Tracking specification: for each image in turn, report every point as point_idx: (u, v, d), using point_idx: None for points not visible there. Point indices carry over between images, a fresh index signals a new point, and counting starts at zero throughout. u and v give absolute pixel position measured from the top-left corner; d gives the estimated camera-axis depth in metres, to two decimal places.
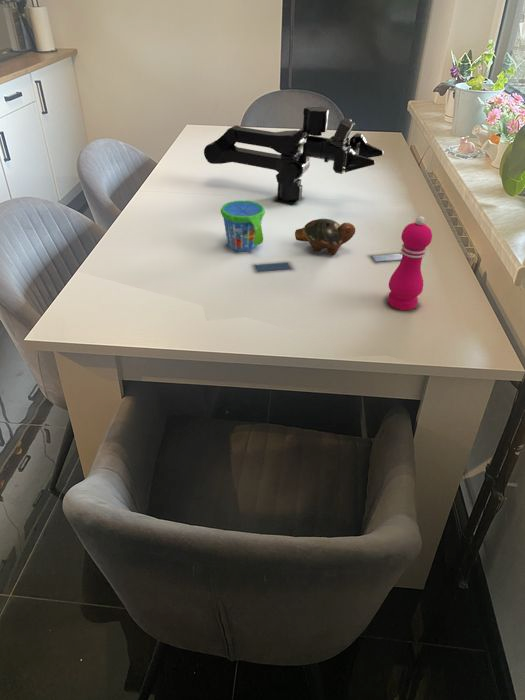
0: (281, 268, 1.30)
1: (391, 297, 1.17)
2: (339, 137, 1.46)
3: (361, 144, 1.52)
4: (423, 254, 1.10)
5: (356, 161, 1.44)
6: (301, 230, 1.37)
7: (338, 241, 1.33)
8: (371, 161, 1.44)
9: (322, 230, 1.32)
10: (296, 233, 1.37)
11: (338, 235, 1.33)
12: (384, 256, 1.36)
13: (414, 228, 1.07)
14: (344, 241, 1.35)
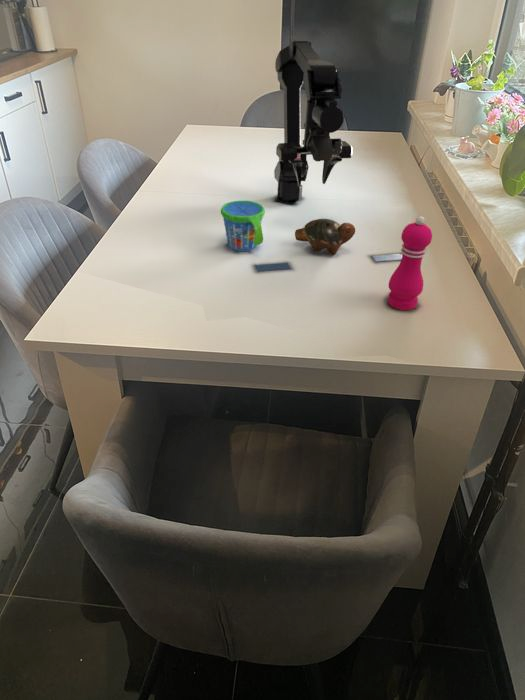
0: (281, 268, 1.30)
1: (391, 297, 1.17)
2: (310, 146, 1.32)
3: None
4: (423, 254, 1.10)
5: None
6: (301, 230, 1.37)
7: (338, 241, 1.33)
8: (298, 181, 1.41)
9: (322, 230, 1.32)
10: (296, 233, 1.37)
11: (338, 235, 1.33)
12: (384, 256, 1.36)
13: (414, 228, 1.07)
14: (344, 241, 1.35)
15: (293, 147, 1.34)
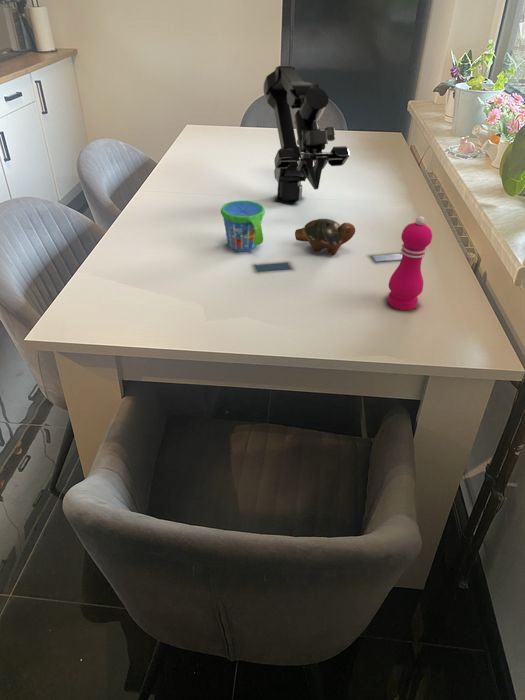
0: (281, 268, 1.30)
1: (391, 297, 1.17)
2: (305, 140, 1.35)
3: (316, 162, 1.38)
4: (423, 254, 1.10)
5: (308, 172, 1.39)
6: (301, 230, 1.37)
7: (338, 241, 1.33)
8: (314, 185, 1.38)
9: (322, 230, 1.32)
10: (296, 233, 1.37)
11: (338, 235, 1.33)
12: (384, 256, 1.36)
13: (414, 228, 1.07)
14: (344, 241, 1.35)
15: None
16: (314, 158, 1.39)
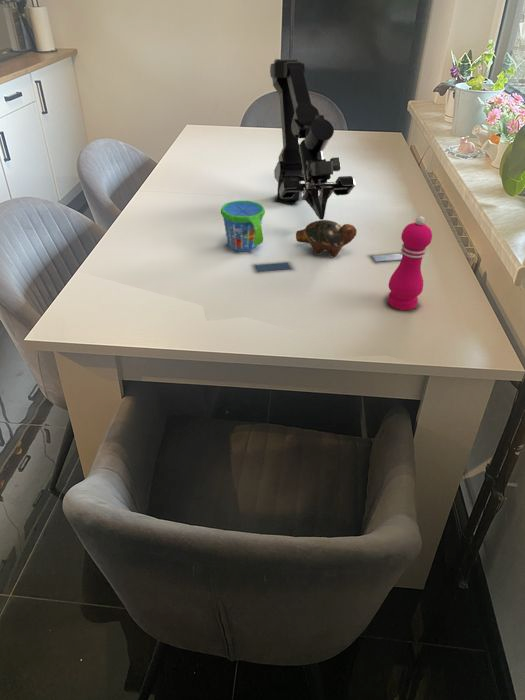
0: (281, 268, 1.30)
1: (391, 297, 1.17)
2: (310, 170, 1.34)
3: (322, 192, 1.37)
4: (423, 254, 1.10)
5: (313, 202, 1.38)
6: (302, 231, 1.36)
7: (340, 242, 1.32)
8: (319, 215, 1.37)
9: (323, 232, 1.32)
10: (297, 234, 1.36)
11: (339, 237, 1.32)
12: (384, 256, 1.36)
13: (414, 228, 1.07)
14: (345, 243, 1.34)
15: None
16: (319, 188, 1.38)
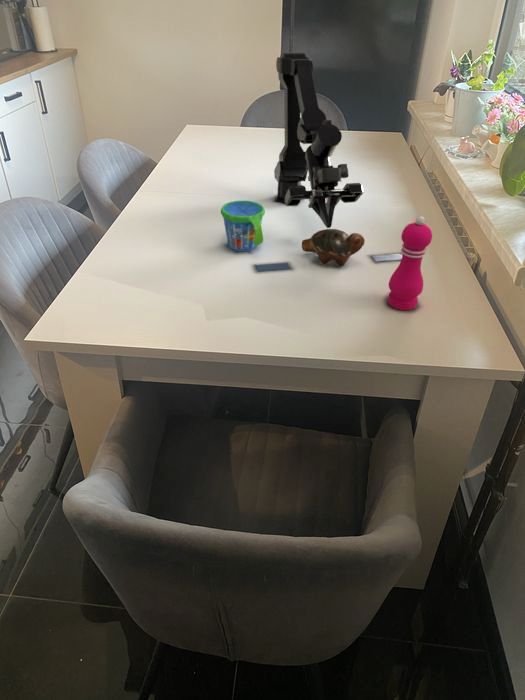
0: (281, 268, 1.30)
1: (391, 297, 1.17)
2: (317, 177, 1.29)
3: (329, 199, 1.32)
4: (423, 254, 1.10)
5: (320, 209, 1.33)
6: (308, 241, 1.32)
7: (347, 252, 1.28)
8: (327, 223, 1.32)
9: (330, 241, 1.28)
10: (303, 244, 1.32)
11: (346, 246, 1.28)
12: (384, 256, 1.36)
13: (414, 228, 1.07)
14: (353, 252, 1.30)
15: None
16: (326, 195, 1.33)
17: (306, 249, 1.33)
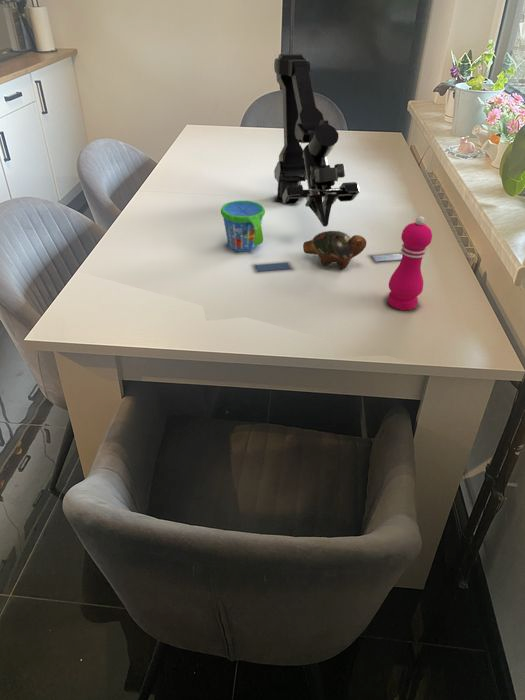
0: (281, 268, 1.30)
1: (391, 297, 1.17)
2: (314, 176, 1.31)
3: (325, 198, 1.34)
4: (423, 254, 1.10)
5: (317, 208, 1.35)
6: (310, 243, 1.31)
7: (349, 254, 1.28)
8: (323, 222, 1.35)
9: (332, 243, 1.27)
10: (304, 246, 1.32)
11: (348, 248, 1.27)
12: (384, 256, 1.36)
13: (414, 228, 1.07)
14: (355, 254, 1.29)
15: None
16: (323, 194, 1.36)
17: (307, 251, 1.32)
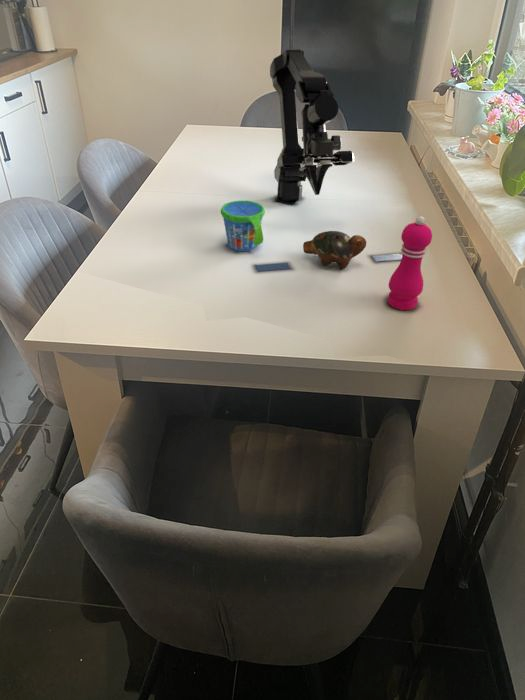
0: (281, 268, 1.30)
1: (391, 297, 1.17)
2: (310, 146, 1.32)
3: (320, 167, 1.36)
4: (423, 254, 1.10)
5: (310, 176, 1.38)
6: (310, 243, 1.31)
7: (349, 254, 1.28)
8: (315, 191, 1.38)
9: (332, 243, 1.27)
10: (304, 246, 1.32)
11: (348, 248, 1.27)
12: (384, 256, 1.36)
13: (414, 228, 1.07)
14: (355, 254, 1.29)
15: (293, 153, 1.34)
16: (318, 161, 1.37)
17: (307, 251, 1.32)
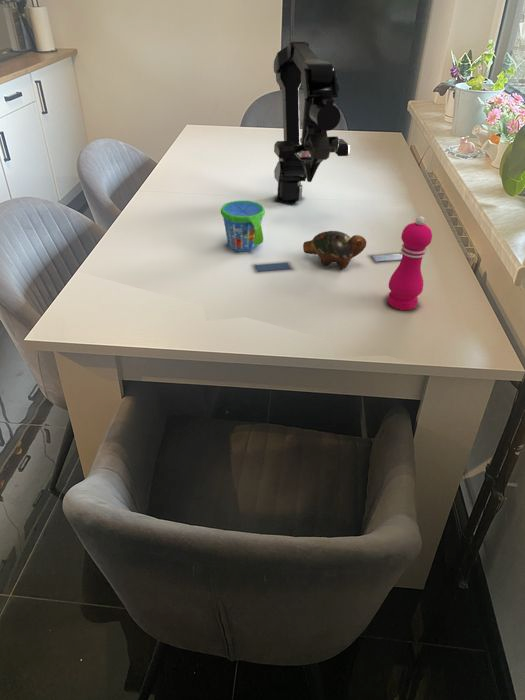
0: (281, 268, 1.30)
1: (391, 297, 1.17)
2: (308, 144, 1.33)
3: None
4: (423, 254, 1.10)
5: (305, 163, 1.41)
6: (310, 243, 1.31)
7: (349, 254, 1.28)
8: (307, 178, 1.43)
9: (332, 243, 1.27)
10: (304, 246, 1.32)
11: (348, 248, 1.27)
12: (384, 256, 1.36)
13: (414, 228, 1.07)
14: (355, 254, 1.29)
15: (291, 145, 1.35)
16: None
17: (307, 251, 1.32)
